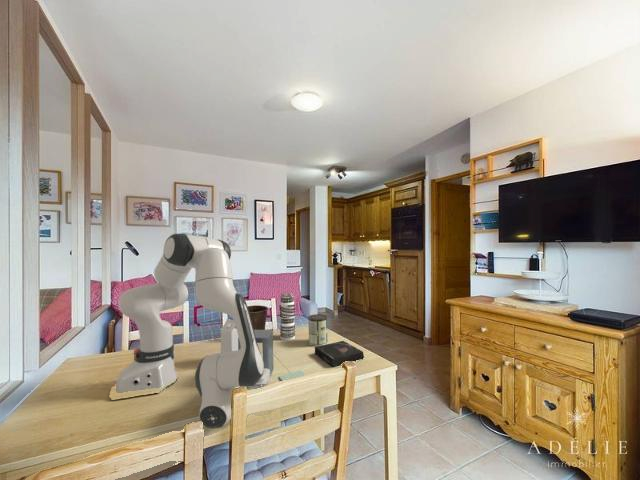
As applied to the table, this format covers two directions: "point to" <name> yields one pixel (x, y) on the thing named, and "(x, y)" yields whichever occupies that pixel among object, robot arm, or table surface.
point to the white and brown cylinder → (287, 316)
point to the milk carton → (229, 336)
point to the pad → (291, 375)
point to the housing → (265, 347)
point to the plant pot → (258, 316)
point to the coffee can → (317, 330)
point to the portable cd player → (338, 353)
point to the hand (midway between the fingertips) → (245, 366)
